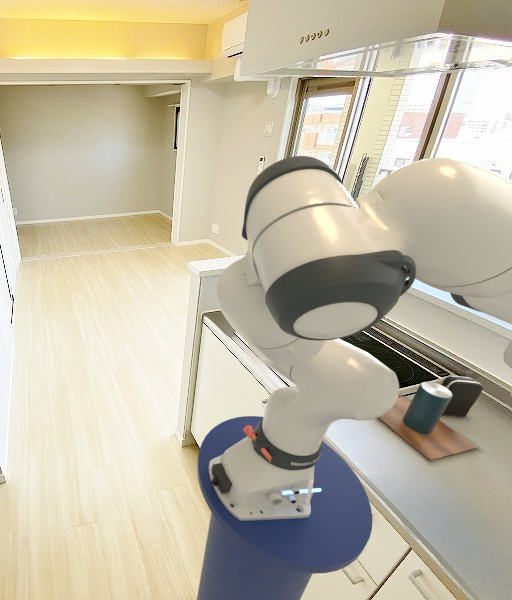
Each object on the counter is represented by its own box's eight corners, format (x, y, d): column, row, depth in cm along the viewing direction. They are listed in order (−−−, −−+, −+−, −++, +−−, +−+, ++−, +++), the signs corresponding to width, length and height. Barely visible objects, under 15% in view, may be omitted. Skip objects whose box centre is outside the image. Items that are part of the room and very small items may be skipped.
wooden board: (429, 461, 77) (430, 459, 77) (362, 406, 93) (363, 404, 93) (476, 448, 80) (477, 447, 79) (403, 397, 95) (404, 395, 95)
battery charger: (456, 407, 91) (476, 375, 86) (466, 418, 88) (487, 385, 83) (427, 404, 93) (444, 372, 87) (435, 414, 89) (454, 382, 84)
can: (419, 436, 83) (439, 400, 77) (396, 418, 88) (414, 383, 82) (438, 431, 84) (460, 395, 78) (415, 414, 89) (433, 379, 83)
